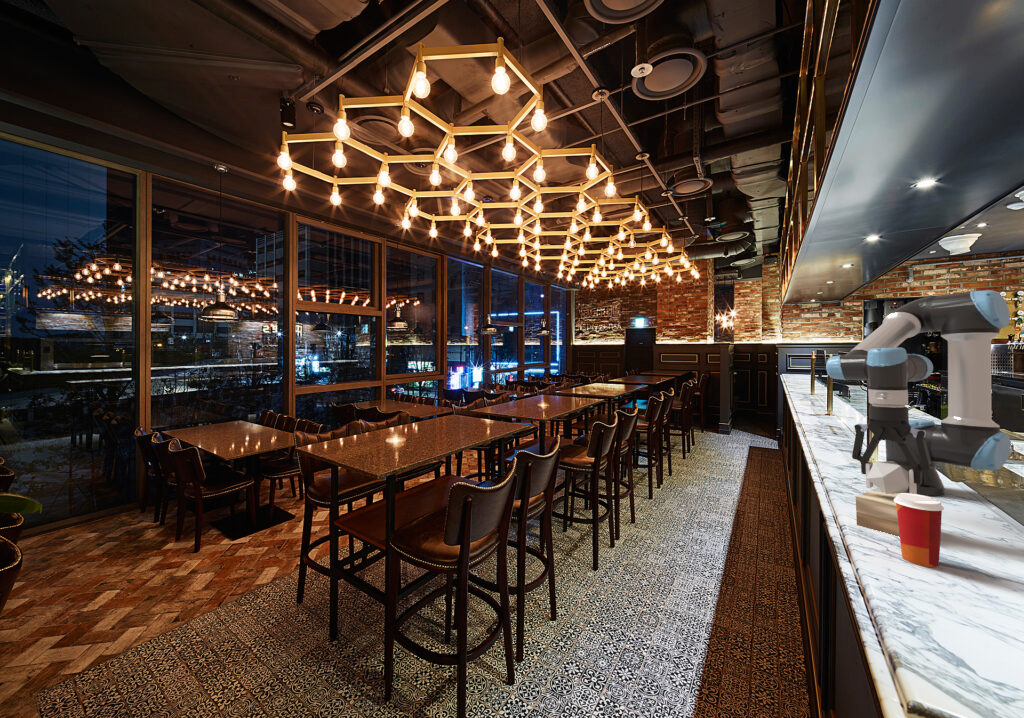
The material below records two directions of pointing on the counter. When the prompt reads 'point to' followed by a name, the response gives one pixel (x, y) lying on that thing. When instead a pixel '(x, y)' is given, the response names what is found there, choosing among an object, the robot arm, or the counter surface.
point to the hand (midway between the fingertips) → (890, 490)
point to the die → (889, 477)
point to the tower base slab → (877, 523)
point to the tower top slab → (877, 504)
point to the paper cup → (919, 528)
